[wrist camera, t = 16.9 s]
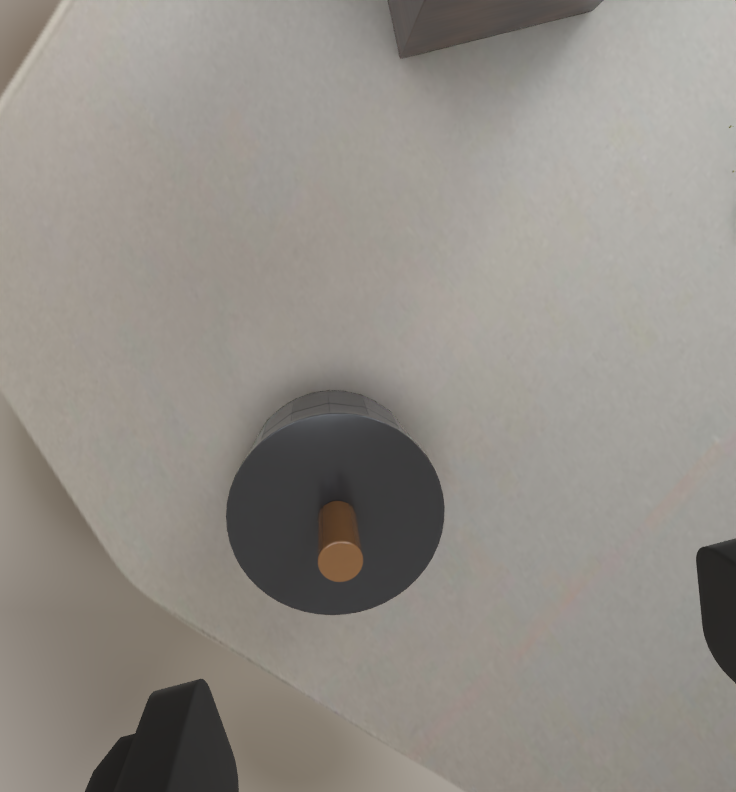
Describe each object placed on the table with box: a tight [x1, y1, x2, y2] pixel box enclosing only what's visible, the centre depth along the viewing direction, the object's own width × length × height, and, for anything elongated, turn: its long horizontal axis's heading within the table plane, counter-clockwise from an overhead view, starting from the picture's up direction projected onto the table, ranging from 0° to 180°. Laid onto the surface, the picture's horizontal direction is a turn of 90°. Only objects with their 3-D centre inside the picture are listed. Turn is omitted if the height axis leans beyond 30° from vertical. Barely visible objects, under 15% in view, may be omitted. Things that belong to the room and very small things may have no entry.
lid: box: [226, 411, 444, 615], centre depth 30 cm, size 12×12×5 cm
